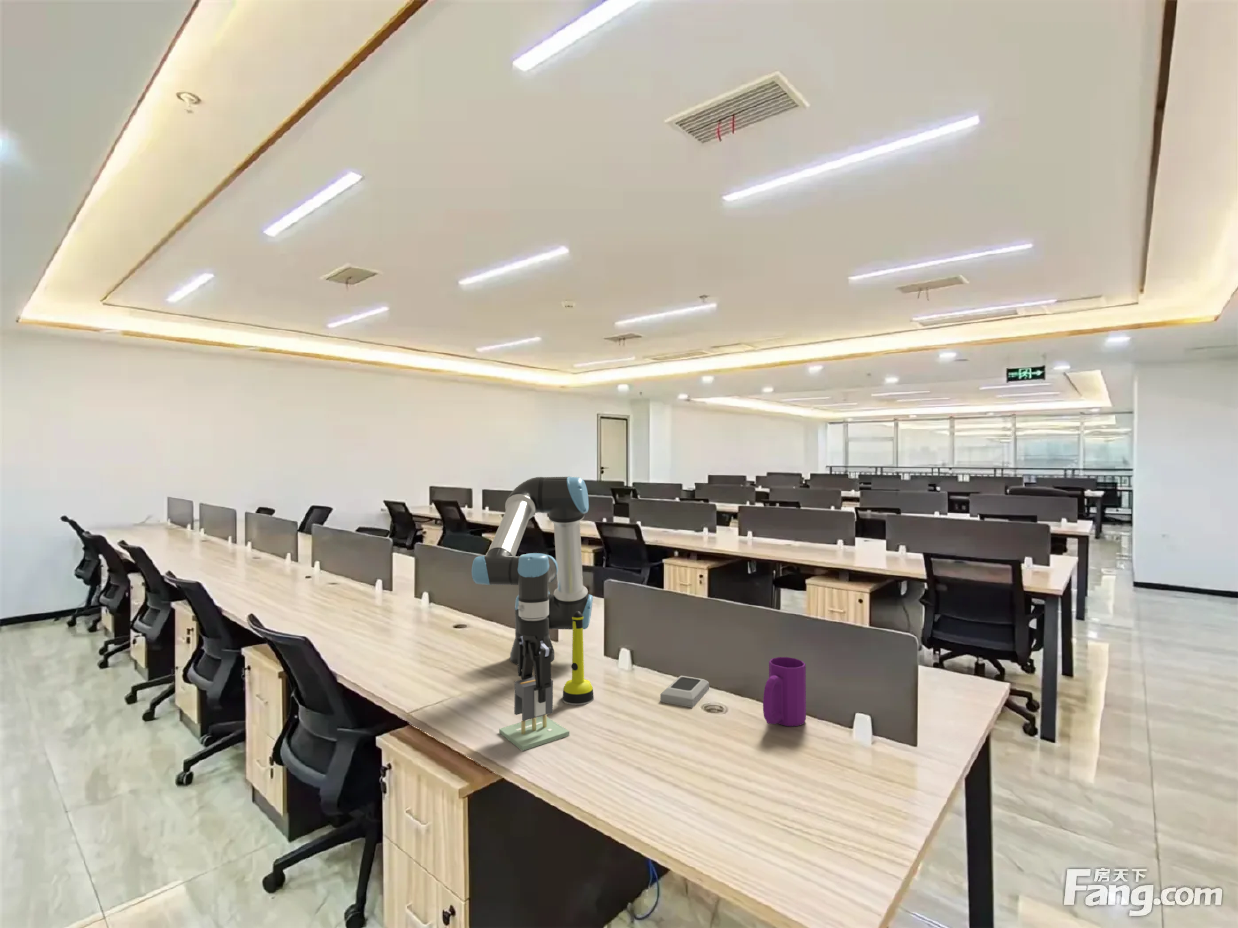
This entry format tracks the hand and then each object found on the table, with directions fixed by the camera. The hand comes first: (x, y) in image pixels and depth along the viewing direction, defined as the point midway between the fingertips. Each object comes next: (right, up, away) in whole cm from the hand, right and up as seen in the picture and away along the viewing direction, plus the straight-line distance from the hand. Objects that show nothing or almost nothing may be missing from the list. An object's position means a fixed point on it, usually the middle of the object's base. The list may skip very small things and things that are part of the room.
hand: (534, 710), depth 147 cm
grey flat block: (+40, -6, +25) cm, 48 cm away
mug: (+63, -6, +5) cm, 63 cm away
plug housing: (0, -1, 0) cm, 1 cm away
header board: (0, -6, 0) cm, 6 cm away
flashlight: (+9, -6, +22) cm, 25 cm away
